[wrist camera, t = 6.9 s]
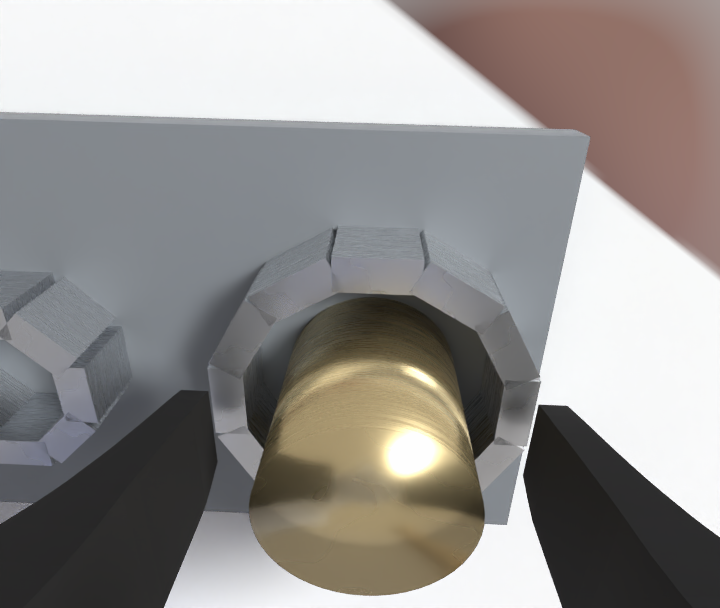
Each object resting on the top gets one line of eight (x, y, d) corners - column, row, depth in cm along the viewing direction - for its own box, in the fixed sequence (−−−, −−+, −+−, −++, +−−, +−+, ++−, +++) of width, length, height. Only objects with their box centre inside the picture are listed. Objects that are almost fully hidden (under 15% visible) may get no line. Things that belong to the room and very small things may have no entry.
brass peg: (295, 430, 15) (258, 591, 11) (286, 294, 13) (237, 423, 9) (446, 435, 15) (472, 600, 11) (460, 299, 13) (499, 432, 9)
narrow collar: (-13, 411, 15) (-65, 460, 14) (-68, 267, 13) (-137, 303, 12) (141, 418, 15) (109, 468, 14) (111, 274, 13) (69, 311, 11)
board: (-25, 476, 18) (-46, 499, 17) (-179, 106, 13) (-221, 111, 12) (500, 500, 18) (506, 524, 17) (575, 129, 12) (590, 136, 11)
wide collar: (243, 461, 16) (226, 514, 14) (219, 221, 12) (192, 252, 11) (494, 472, 16) (508, 528, 14) (539, 232, 12) (566, 265, 11)
